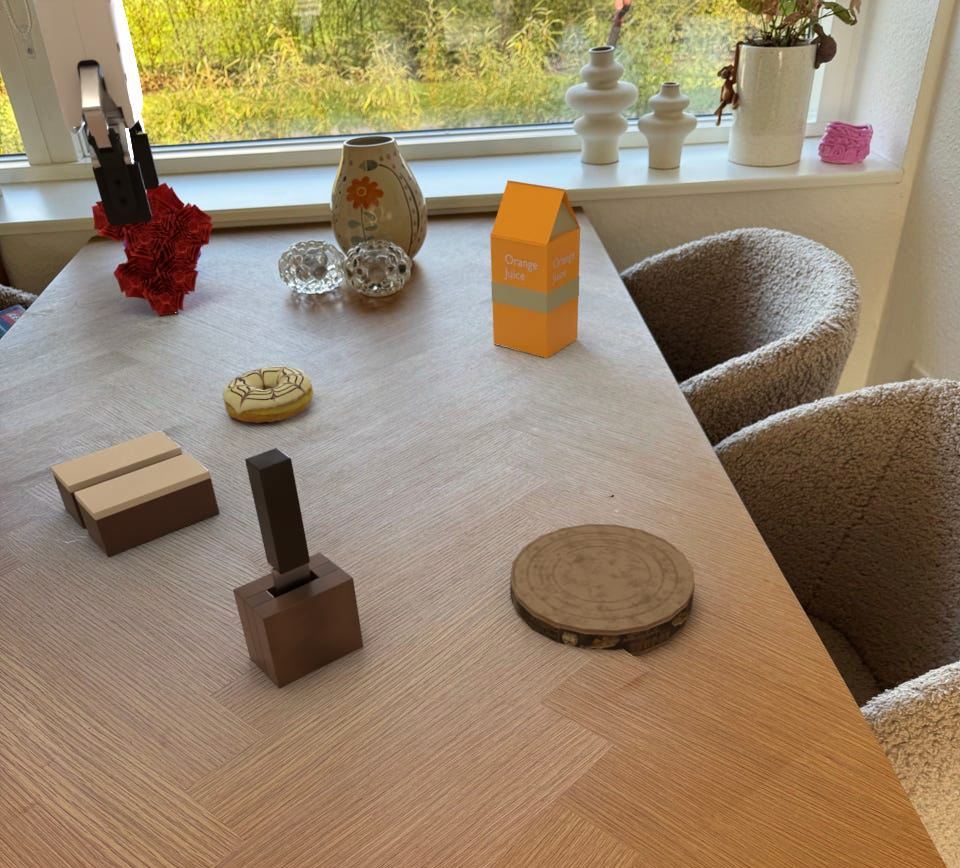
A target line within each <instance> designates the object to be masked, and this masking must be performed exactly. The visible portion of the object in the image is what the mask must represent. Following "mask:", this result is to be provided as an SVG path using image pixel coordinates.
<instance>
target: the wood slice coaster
mask: <svg viewBox="0 0 960 868" xmlns="http://www.w3.org/2000/svg"><path fill="white" fill-rule="evenodd" d="M510 570H511V571H510V577H509V588H510V591H509V592H510V593H509V594H510V600H511V603H512V606H513V607H514V610H515V612H516V615H517V616H518V617H519V618H520V619H521V621H523V622H524V623H525V625H527V626H528V628H530V629H531V630H532V631H533V632H535V633H538V634H539V635H541V636H544V637H545V638H547V639H549V640H551V641H553V642H555V643H558V644H562V645H566V646H570V647H573V648H578V649H582V650H598V651H619V650H624V651H625V652H627V653H628V654H630V655H631V656H633V657H634V656H639V655H644V654H646V653H650V652H651V651H653V650H656V649H658V648H660V647H663V646H666V645H667V644H669V643H670V642H671V641H672V640H674V638H676V637H677V636H678V635H679V634H680V633H681V632H683V631H684V629H685V627H686V625H687V623H688V621H689V618H690V616H691V613H692V609H693V601H694V593H695V585H696V584H695V576H694V567H693V566H692V564H691V563H690V561H689V560H688V559H687V557H686V556H685V554H684V552H683V551H682V550H680V549H679V548H677V546H675V545H673V544H672V543H671V542H669V541H668V540H667V539H665V538H663V537H660V536H658V535H655V534H653V533H651V532H648V531H645V530H644V529H639V528H635V527H630V526H624V525H620V524H605V523H585V524H579V525H573V526H566V527H561V528H558V529H556V530H553V531H551V532H547V533H544V534H542V535H539V536H538V537H537V538H535V539H534V540H532V541H531V542H529V543H527V545H525V546H523V547H522V549H521V550H520V552H518V554H517V555H516V557H515V559H513V561H512V563H511V569H510Z"/></svg>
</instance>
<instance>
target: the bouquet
mask: <svg viewBox="0 0 960 868" xmlns="http://www.w3.org/2000/svg"><path fill="white" fill-rule="evenodd" d="M146 194H147V198H148V201H149V205H150V209H151V213H152V217H151V220H150V221H149V222H142V223H133V224H124V225H115V226H114V225H110V224H109V223H108V221H107V218H106V215H105V211H104V207H103V204H102V200H100V201H99V200H98V201H95V204H96V205H92V206H91V211H92V216H93V229H94V230H98V231H97V235H98V236H101V237H105V238H109V239H111V240H114V241H116V242H120V241H121V242H122V243H123V244H122V245H123V247H124V249H123V252H124V254H125V257H126V259H127V260H126V261H125V262H123V263H119V264H118V265H117V267H116V268H115V270H114V271H113V276H114V277H115V279H116V281H117V283H118V286H119V289H120V293H124V294H125V298H126V299H130V298H136V299H141V300H146V301H147V302H148V303H149V306H150V308H151V310H152V312H153V313H154V312H155V313H156V314H157V316H158V315H161V316H163V315H172V314H171V313H175V312H177V311H178V312H179V311H183V312H184V299H185V295H190V293H189V292H192V293H193V292H195V290H196V282H197V277H198V275H199V271H198V270H196V269H197V267H198V262H199V260H200V258H201V256H202V249H201V248H202V247H204V246H206V245H209V244H210V236H211V235H210V234H211V232H212V230H213V227H214V223H211V222H212V219H213V217H212V216H211V215H209V214H207V213H206V212H204V210H203V211H202V209H201V208H199V206H197V205H196V204H193V205H192V204H191V203H190V202H187V203H186V205H185V203H184V202H183V201H182V200H181V199H180V198H179V197H178V195H177V194H176V192H175V191H174V188H173V186H170V187H169V186H168V184H167V182H164V183H161V184H159V186H158V188H156V189H148V190H146Z"/></svg>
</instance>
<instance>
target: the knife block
mask: <svg viewBox="0 0 960 868" xmlns="http://www.w3.org/2000/svg"><path fill="white" fill-rule="evenodd" d="M309 558H310V562H309V563H308V565H309V571H310V576H311V581H312V582H310V583H308V584H305V585H303V586H301V587H299V588H296V589H294V590H292V591H290V592H287V593H285V594H283V595H281V596H279V597H277V596H276V591H275V587H274V582H273V577H272V573H271V572H270V573H268V574H266V575H264V576H262V577H261V576H260V577H259V578H256V579H254V580H252V581H250V582H248V583H244V584H243V585H241V586H238V587H236V588H233V590H232V591H233V595H234V600H235V604H236V608H237V612H238V616H239V619H240V623H241V628H242V630H243V635H244V640H245V643H246V646H247V651H248V655H249V658H250V660H251V661H252V662H253V663H254V664H255V665H256V666H257V667H258V668H259V669H260V670H261V671H262V672H263V673H264V675H266V677H267V678H268V679H270V680H271V682H272V683H273V684H274V685H275V686H276V688H278V689H282V688H283V687H286V686H288V685H290V684H292V683H294V682H297V681H298V680H300V679H301V678H303V677H306V676H308V675H309V674H312V673H314V672H316V671H318V670H319V669H322V668H323V667H326V666H328V665H330V664H331V663H334V662H336V661H338V660H339V659H342V658H344V657H346V656H348V655H350V654H352V653H354V652H355V651H358V650H360V649H361V648H363V647H364V641H363V634H362V628H361V621H360V615H359V614H360V613H359V607H358V601H357V595H356V588H355V582H354V578H353V577H352V576H351V574H349V573H348V572H346V571H345V570H344V569H343V568H341V567H340V566H339V565H338V564H337V563H335V562H334V561H332V560H331V559H330V557H328V556H327V555H326V554H324V553H323V552H322V551H318V552H316V553H314V554H311V555H309Z"/></svg>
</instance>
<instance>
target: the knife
mask: <svg viewBox="0 0 960 868" xmlns="http://www.w3.org/2000/svg"><path fill="white" fill-rule="evenodd" d="M244 461H245V466H246V471H247V475H248V480H249V484H250V489H251V494H252V498H253V503H254V507H255V513H256V517H257V521H258V525H259V529H260V534H261V539H262V544H263V548H264V553H265V558H266V562H267V564H269V566H271V567H272V568H270V573H272V577H273V582H274V587H275V591H276V596H277V597H279V596H281V595H283V594H285V593H287V592H290V591H292V590H294V589H296V588H299V587H301V586H303V585H305V584H308V583H310V582H312V581H311V576H310V571H309V565H308V563H309V562H310V558H309V556H310V552H309V549H308V548H309V547H308V543H307V536H306V532H305V526H304V521H303V515H302V509H301V505H300V499H299V494H298V488H297V483H296V476H295V472H294V465H293V461H292V458H291V457H290V456H289V455H287V454H286V453H285V452H284V451H282V450H281V449H279V448H278V447H274V448H272V449H269V450H266V451H263V452H261V453H258V454H255V455H252V456H250V457H247V458H244Z"/></svg>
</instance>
